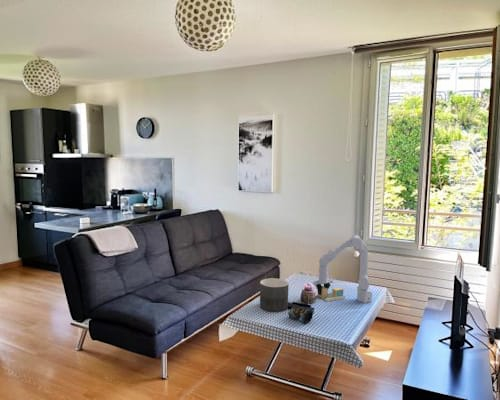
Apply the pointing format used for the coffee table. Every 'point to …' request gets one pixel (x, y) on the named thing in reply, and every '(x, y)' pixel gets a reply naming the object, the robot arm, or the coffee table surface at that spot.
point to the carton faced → (337, 292)
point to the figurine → (301, 314)
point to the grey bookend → (331, 297)
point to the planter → (274, 294)
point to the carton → (324, 292)
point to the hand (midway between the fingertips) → (322, 294)
